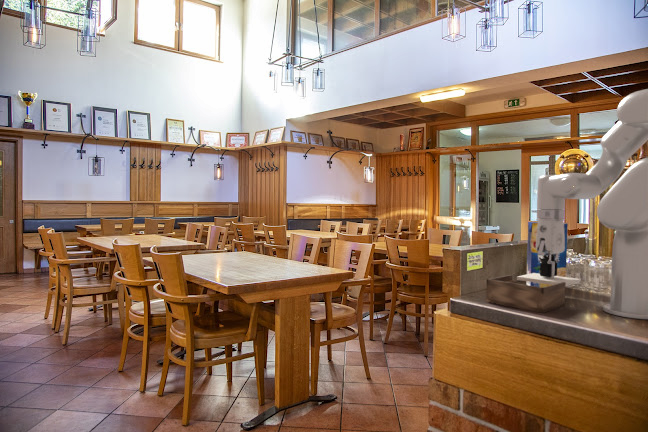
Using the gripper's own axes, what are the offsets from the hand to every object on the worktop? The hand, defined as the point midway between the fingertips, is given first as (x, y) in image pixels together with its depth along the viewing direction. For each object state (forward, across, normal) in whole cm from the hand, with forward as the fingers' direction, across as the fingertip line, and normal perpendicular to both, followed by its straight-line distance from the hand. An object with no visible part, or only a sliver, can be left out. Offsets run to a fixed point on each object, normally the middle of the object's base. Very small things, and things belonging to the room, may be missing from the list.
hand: (548, 275), depth 138 cm
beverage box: (+7, +17, +8) cm, 20 cm away
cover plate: (+2, 0, 0) cm, 2 cm away
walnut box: (+7, -15, 0) cm, 16 cm away
